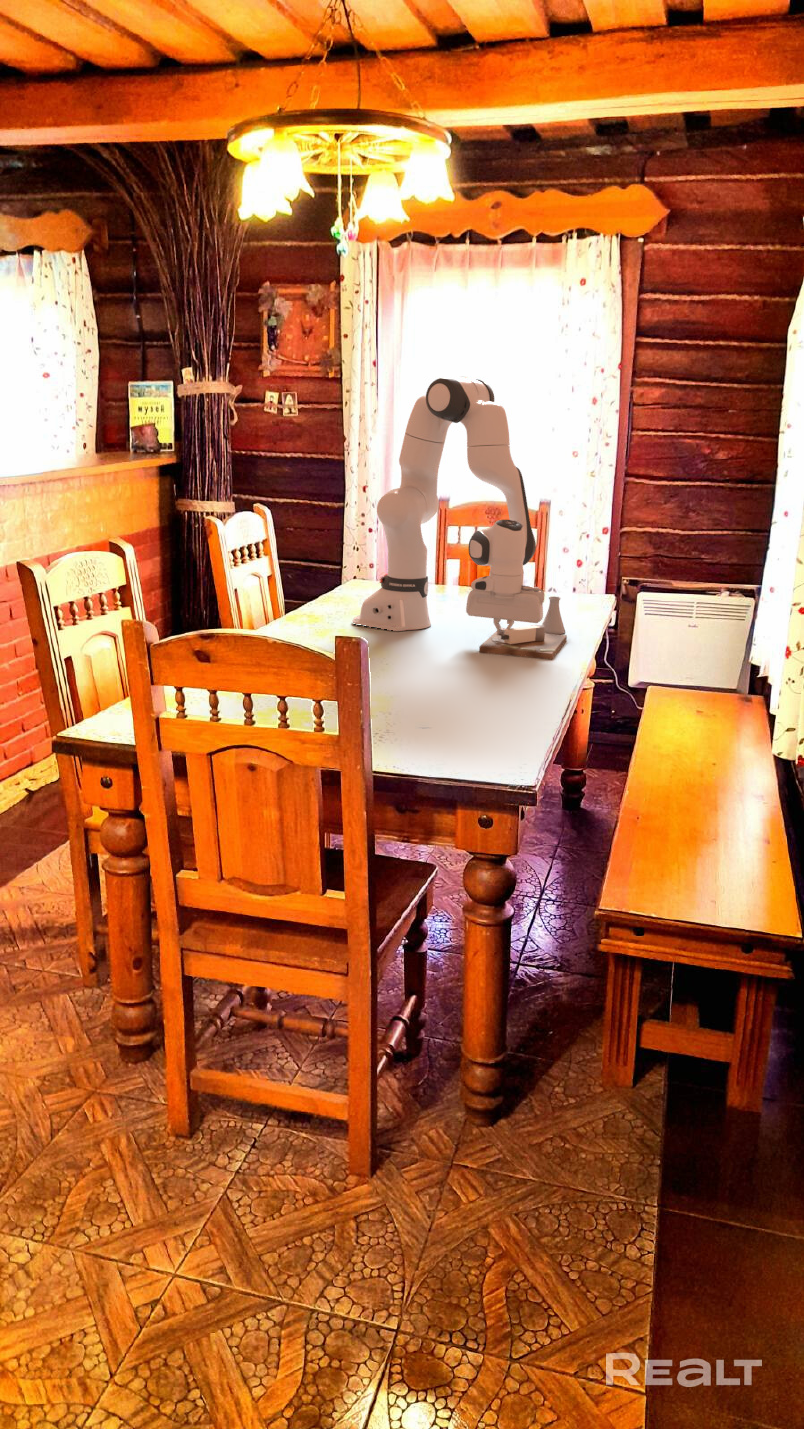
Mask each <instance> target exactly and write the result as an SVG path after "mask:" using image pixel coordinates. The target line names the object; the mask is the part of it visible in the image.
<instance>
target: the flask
mask: <svg viewBox="0 0 804 1429" xmlns="http://www.w3.org/2000/svg"><path fill="white" fill-rule="evenodd" d="M548 600H549V605H548V609H547V612H546V615H545V617H544V620H543V622H542V624H541V626H545V633H546V634H557V635H564V633H566V630H565V626H564V623H563V620H562V615H561V611H560V601H561V597H560V596H555V595H554V596H549V597H548Z"/></svg>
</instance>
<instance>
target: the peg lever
mask: <svg viewBox="0 0 804 1429" xmlns="http://www.w3.org/2000/svg"><path fill="white" fill-rule="evenodd" d="M544 638H545V626H542V624H533V625H527V626H520V627H513V628H512V627H511V628H510V629H505V635H501V639H503V640H504V642H505V643H508V644H516V643H523V642H530V641H544Z"/></svg>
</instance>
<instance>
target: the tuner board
mask: <svg viewBox="0 0 804 1429" xmlns="http://www.w3.org/2000/svg"><path fill="white" fill-rule="evenodd" d="M567 637H568V636H567V634H547V633H545V638H544V641H530V642H523V643H516V644H508V643H505V642H504V640H503V639H501V636H499V635H497V630H496V631H495V632H494V633H493V634H491V636H489V637H488V638H487V639H486V640H485V641H484V642H483V643H482V644H481V645H480V646H478V647H479V649H478V652H479V653H480V654H481V653H483V654H493V655H494V654H495V655H504V656H515V657H523V658H525V657H526V658H531V659H533V658H534V659H543V660H553V659H554V657H555V656H556V655H557V653H558V652H559V651H560V650H561V648H562V647H563V646H564V645H565V643H566V642H567ZM562 645H563V646H562ZM555 654H556V655H555Z"/></svg>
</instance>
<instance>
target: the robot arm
mask: <svg viewBox="0 0 804 1429" xmlns="http://www.w3.org/2000/svg"><path fill="white" fill-rule="evenodd" d="M408 418H409V419H408V420H407V425H406V428H405V433H404V437H403V440H402V445H401V450H400V452H399V453H400V454H399V458H398V462H399V466H400V471H401V472H400V473H401V478H400V485H399V487H397V488H394V489H391V490H389V491H388V492H386V493H384V495H382V497H380V498H379V500H378V503H377V506H376V515H377V517H378V519H379V522H381V524H382V526H383V531H384V534H385V535H384V536H385V540H386V545H387V573H385V574H384V575H383V577H381V578H380V579H379V584H380V586H381V588H379V589H378V590H377V591H374V592H373V593H372V594H371V595H370V596H368V597H367V598H366V599H365V600H364V601H363V602H362V603H361V604H362V605H361V608H360V613H359V615H357V616H355V617H354V618H353V619H352V622H353V623H355V624H361V625H366V626H369V627H368V628H371V627H377V628H381V629H380V630H384V629H387V631H391V630H393V631H392V632H402V631H411V630H420V629H421V630H422V629H425V628H429V627H431V625H432V624H431V620H430V616H429V609H428V598H427V597H428V593H429V576H428V575H427V573H428V572H427V571H428V567H427V566H428V549H427V546H426V544H425V543H424V538H423V533H422V528H421V527H422V526H421V525H422V524H425V523H427V522H428V521H430V520H431V519H432V518H433V517H434V516H435V515H436V514H437V513H438V510H439V506H440V505H439V504H440V503H439V502H440V501H439V498H438V478H439V477H438V475H439V469H440V464H441V459H442V456H443V451H444V446H445V442H446V438H447V434H448V430H449V428H450V426H451V424H452V423H455V424H458V423H461V424H462V425H463V426H464V428H465V430H466V449H467V450H466V453H467V458H466V459H467V464H468V469H469V470H470V471H471V472H472V474H473V475H474V476H475V477H476V478H478V480H480V481H482V482H483V483H487V484H488V485H492V486H494V487H495V488H497V489H498V490H500V491H501V492H502V493H503V495H504V497H505V500H506V505H507V506H506V507H507V511H508V517H509V518H508V519H498V520H496V521H495V522H494V524H493V525H491V526H490V527H487V528H484V529H480V530H476V531H475V532H474V533H473V534H472V535H471V537H470V539H469V543H468V554H469V557H470V559H471V561H473V562H474V563H475V564H476V566H482V567H483V566H484V567H489V569H490V570H489V575H485V576H482V577H478V578H476V579H474V580H473V581H472V582H471V584H470V586H471V587H470V588H471V589H472V590H470V591H469V593H468V596H467V600H466V607H465V612H466V613H467V615H468V616H470V617H475V618H476V617H477V618H485V619H493V620H492V621H493V624H494V626H495V629H496V631H497V635H499V636H501V635H505V629H511V628H512V627H513V625H514V624H515V622H520V623H521V622H522V623H529V624H530V623H532V624H538V623H539V622H541V621H542V620H543V618H544V605H543V603H544V601H545V597H546V596H545V592H544V591H543V589H541V588H540V587H538V586H529V585H524V576H525V573H524V571H525V570H524V566H525V565H527V564H528V563H529V562H530V561H531V559H532V558H533V557H534V555H535V554H536V551H537V545H536V544H537V542H536V539H535V535H534V533H533V530H532V525H531V520H530V519H531V518H530V514H529V513H530V512H529V507H528V500H527V495H526V489H525V483H524V482H525V481H524V478H523V475H522V472H521V470H520V469H519V467H518V466H516V465H515V463H514V461H513V459H512V454H511V449H510V448H511V446H510V430H509V424H508V418H507V413H506V410H505V408H504V407H503V406H502V405H501V404H498V403H497V402H495V395H494V391H493V389H492V388H491V386H490V385H489V384H487V383H486V382H484V381H483V380H481V379H478V378H477V379H476V378H472V377H468V376H467V377H466V376H458V377H457V376H454V377H453V376H442V377H439V378H437V379H435V380H434V381H432V382H431V383H430V384H429V386H428V388H427V390H426V392H425V395H422V396H420V397H419V398H417V400H416V401H415V403H414V405H413V407H412V410H411V412H410V415H409V417H408ZM501 620H503V621H504V620H505V621H506V624H507V627H506V628H505V627H502V626H501V623H500V622H501ZM377 628H376V629H377Z"/></svg>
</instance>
